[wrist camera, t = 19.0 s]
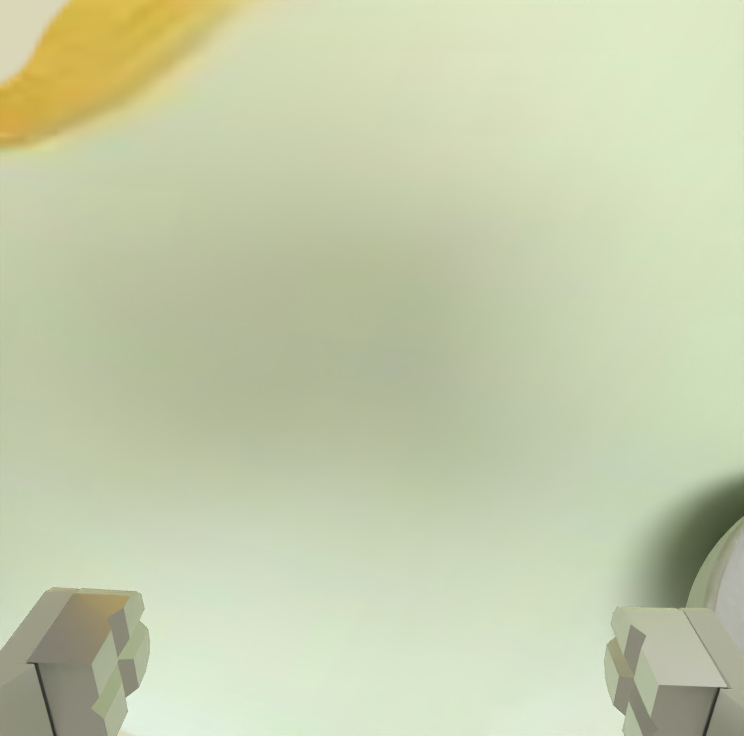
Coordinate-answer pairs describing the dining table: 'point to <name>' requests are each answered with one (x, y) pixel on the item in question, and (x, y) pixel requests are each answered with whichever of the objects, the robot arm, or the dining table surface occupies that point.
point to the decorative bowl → (724, 583)
